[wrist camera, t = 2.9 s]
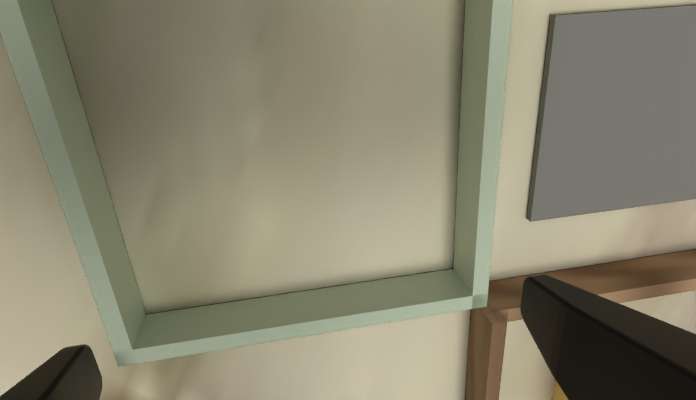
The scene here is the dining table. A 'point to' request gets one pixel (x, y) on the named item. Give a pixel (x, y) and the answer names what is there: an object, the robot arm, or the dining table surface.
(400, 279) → the sage tray
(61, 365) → the robot arm
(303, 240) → the dining table surface
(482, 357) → the walnut tray
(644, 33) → the rubber mat
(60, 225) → the dining table surface
